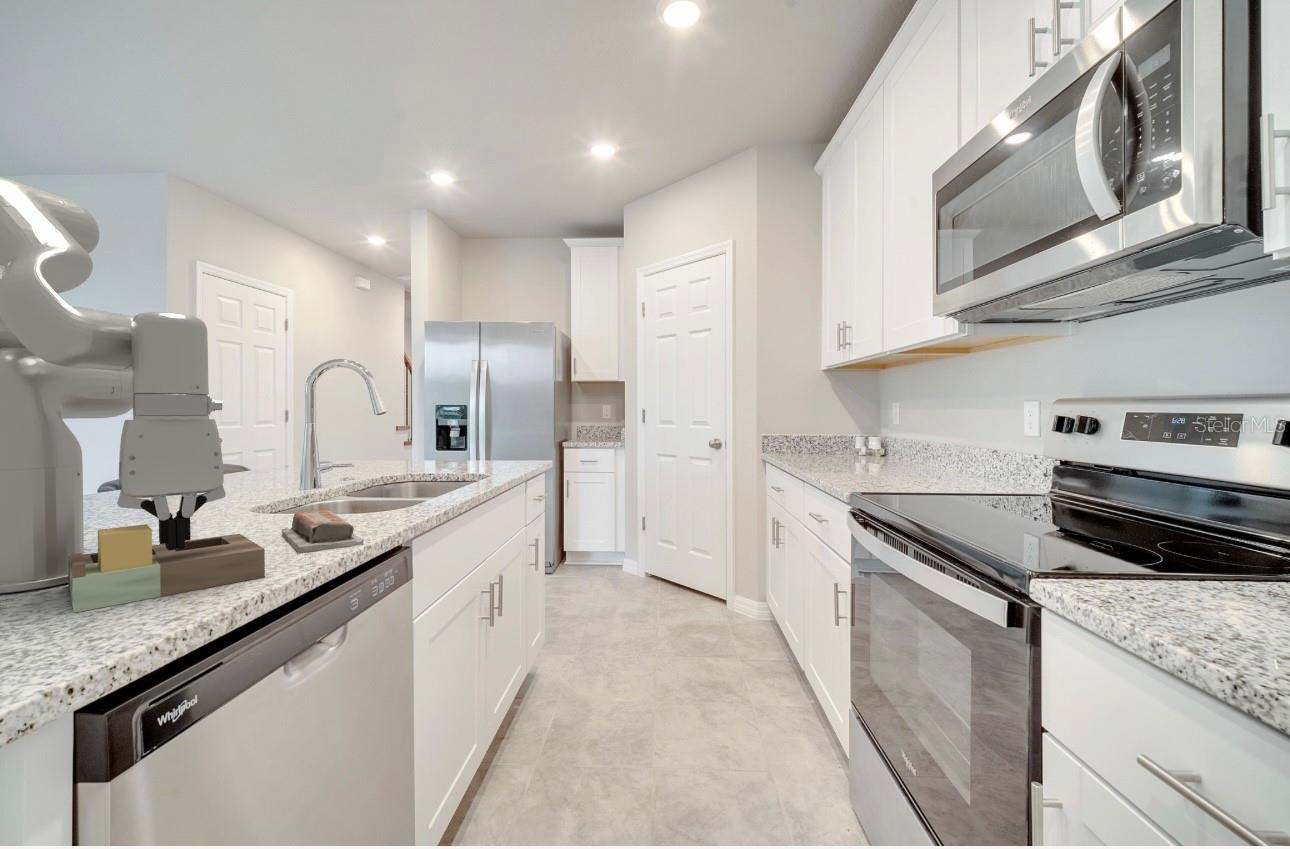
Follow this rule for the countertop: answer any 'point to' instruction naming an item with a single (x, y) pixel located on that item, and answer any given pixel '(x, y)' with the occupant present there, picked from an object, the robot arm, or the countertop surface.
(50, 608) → the countertop surface
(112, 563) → the ochre block
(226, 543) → the box
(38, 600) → the countertop surface
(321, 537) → the packaged product
